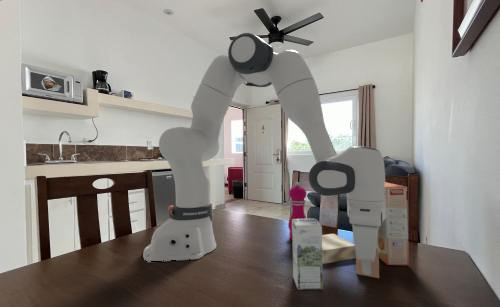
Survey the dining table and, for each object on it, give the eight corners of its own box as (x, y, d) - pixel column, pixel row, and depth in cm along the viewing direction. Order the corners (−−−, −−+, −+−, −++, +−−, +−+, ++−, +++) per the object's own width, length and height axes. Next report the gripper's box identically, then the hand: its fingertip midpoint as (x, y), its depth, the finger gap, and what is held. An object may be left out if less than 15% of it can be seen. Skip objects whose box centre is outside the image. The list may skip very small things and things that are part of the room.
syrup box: (316, 277, 59) (314, 217, 59) (323, 290, 53) (322, 224, 53) (292, 277, 59) (291, 217, 59) (297, 291, 53) (295, 224, 53)
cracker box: (410, 266, 63) (408, 186, 64) (386, 266, 64) (384, 186, 64) (384, 246, 77) (382, 180, 78) (365, 246, 78) (363, 180, 78)
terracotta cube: (379, 278, 58) (378, 257, 58) (356, 274, 60) (355, 254, 60) (379, 269, 62) (378, 249, 62) (357, 265, 65) (357, 247, 65)
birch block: (324, 265, 66) (323, 250, 66) (303, 250, 77) (303, 237, 77) (357, 259, 69) (357, 245, 69) (333, 245, 80) (333, 233, 80)
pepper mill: (310, 242, 83) (308, 183, 83) (288, 241, 84) (287, 183, 84) (308, 235, 90) (307, 180, 90) (288, 234, 91) (287, 180, 91)
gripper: (355, 201, 72) (356, 248, 72) (348, 218, 54) (350, 280, 54) (379, 203, 69) (381, 252, 69) (380, 221, 51) (382, 287, 51)
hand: (367, 264), depth 61 cm, fingers open, 8 cm apart
